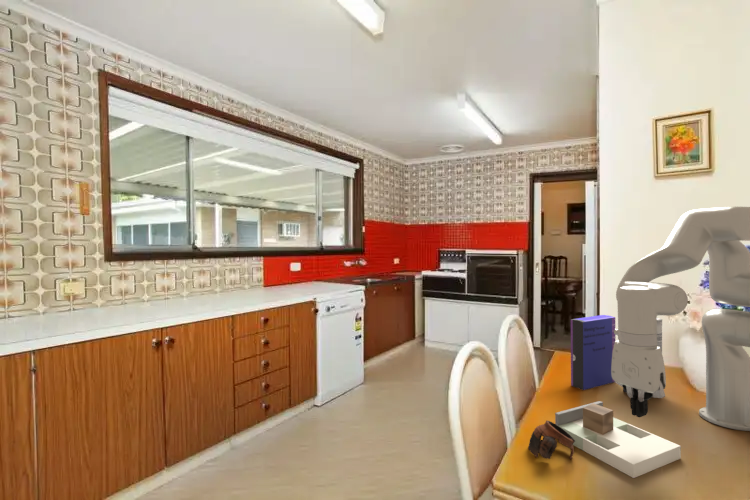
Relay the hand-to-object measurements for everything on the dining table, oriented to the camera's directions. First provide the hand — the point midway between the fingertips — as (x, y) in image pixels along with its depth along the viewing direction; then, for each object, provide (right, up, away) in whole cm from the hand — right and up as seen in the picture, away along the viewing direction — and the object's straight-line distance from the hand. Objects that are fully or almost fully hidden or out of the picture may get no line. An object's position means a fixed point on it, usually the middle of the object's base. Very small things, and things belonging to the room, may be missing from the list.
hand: (639, 414), depth 88 cm
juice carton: (+27, -9, +37) cm, 46 cm away
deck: (-3, -10, +5) cm, 11 cm away
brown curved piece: (-21, -11, +1) cm, 23 cm away
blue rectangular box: (+16, -9, +46) cm, 50 cm away
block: (-5, -7, +8) cm, 12 cm away
